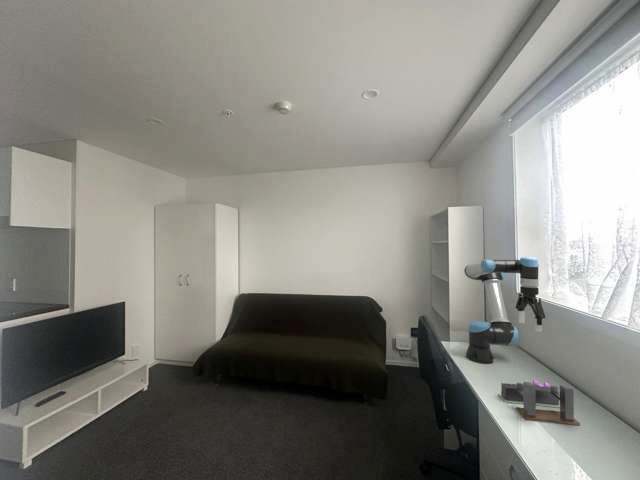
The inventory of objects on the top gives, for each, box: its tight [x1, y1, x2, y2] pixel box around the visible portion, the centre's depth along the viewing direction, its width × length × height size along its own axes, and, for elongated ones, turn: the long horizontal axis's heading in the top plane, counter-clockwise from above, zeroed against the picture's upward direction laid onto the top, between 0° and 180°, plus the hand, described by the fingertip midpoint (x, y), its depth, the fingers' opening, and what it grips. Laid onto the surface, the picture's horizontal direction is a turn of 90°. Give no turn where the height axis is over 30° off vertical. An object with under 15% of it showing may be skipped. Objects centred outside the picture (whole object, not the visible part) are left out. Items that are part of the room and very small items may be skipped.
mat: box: [497, 393, 560, 409], centre depth 121 cm, size 6×24×1 cm, turn 81°
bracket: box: [531, 379, 550, 387], centre depth 130 cm, size 13×6×7 cm, turn 150°
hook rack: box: [515, 381, 581, 426], centre depth 112 cm, size 10×20×14 cm, turn 81°
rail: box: [500, 382, 560, 405], centre depth 121 cm, size 4×22×6 cm, turn 81°
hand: (529, 326), depth 135 cm, fingers open, 13 cm apart
